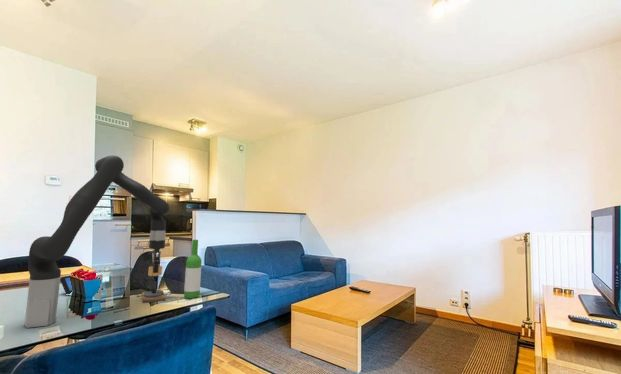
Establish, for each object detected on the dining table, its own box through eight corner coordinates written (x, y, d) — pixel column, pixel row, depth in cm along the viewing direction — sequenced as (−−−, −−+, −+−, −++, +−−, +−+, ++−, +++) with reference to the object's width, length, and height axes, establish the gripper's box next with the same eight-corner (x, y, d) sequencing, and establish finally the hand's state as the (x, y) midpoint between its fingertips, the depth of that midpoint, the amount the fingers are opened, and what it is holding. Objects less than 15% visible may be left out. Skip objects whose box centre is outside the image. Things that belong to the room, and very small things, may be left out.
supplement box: (93, 297, 156) (95, 272, 157) (100, 300, 152) (103, 274, 154) (76, 301, 150) (79, 274, 151) (83, 303, 146) (86, 276, 147)
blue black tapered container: (80, 297, 157) (82, 279, 157) (57, 296, 158) (59, 277, 159) (104, 290, 172) (106, 273, 173) (82, 289, 174) (84, 272, 174)
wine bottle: (180, 298, 160) (184, 239, 163) (189, 294, 168) (193, 238, 171) (193, 299, 158) (197, 240, 161) (202, 295, 166) (205, 239, 169)
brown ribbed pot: (162, 275, 159) (162, 267, 159) (148, 276, 156) (149, 268, 156) (161, 273, 164) (161, 265, 165) (148, 274, 161) (148, 266, 162)
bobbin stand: (165, 300, 154) (166, 284, 155) (142, 302, 150) (143, 286, 150) (162, 293, 168) (163, 278, 169) (142, 295, 164) (143, 279, 164)
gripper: (149, 238, 166) (146, 269, 165) (149, 240, 154) (147, 274, 152) (164, 238, 170) (162, 268, 168) (166, 240, 157) (164, 273, 156)
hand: (155, 271), depth 160 cm, fingers closed on brown ribbed pot, 6 cm apart
